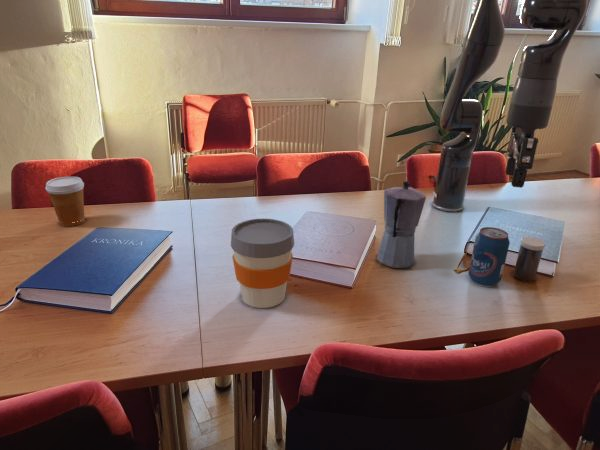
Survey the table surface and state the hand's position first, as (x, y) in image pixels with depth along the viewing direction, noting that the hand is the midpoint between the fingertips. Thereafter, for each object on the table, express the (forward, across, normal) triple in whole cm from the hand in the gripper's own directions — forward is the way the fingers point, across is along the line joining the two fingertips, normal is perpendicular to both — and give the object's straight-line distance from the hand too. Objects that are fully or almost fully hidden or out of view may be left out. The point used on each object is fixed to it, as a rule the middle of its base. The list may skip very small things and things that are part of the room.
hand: (513, 180), depth 93 cm
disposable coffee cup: (+23, -5, +112) cm, 114 cm away
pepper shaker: (+23, +1, -7) cm, 24 cm away
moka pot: (+23, -1, +22) cm, 32 cm away
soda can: (+23, -3, +2) cm, 23 cm away
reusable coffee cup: (+23, -24, +48) cm, 58 cm away
